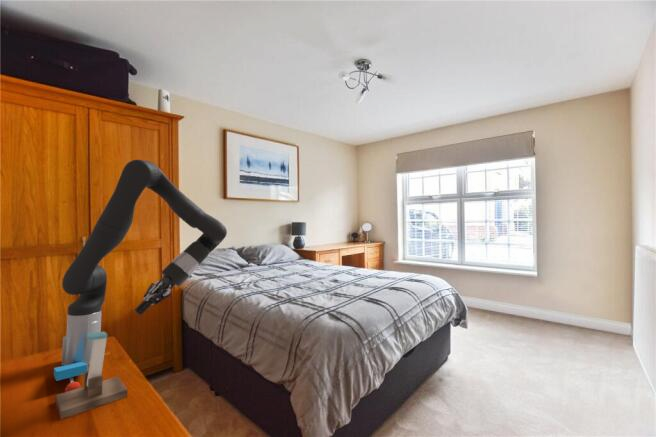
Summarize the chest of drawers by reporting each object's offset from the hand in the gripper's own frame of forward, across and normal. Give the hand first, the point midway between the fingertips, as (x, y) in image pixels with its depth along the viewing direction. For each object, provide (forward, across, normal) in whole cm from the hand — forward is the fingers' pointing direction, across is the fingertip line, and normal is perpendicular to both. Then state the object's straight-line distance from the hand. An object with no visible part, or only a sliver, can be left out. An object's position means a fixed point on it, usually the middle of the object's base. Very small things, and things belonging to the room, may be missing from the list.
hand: (137, 312), depth 90 cm
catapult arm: (+20, 0, +6) cm, 20 cm away
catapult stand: (+23, 0, +8) cm, 24 cm away
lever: (+25, -15, +7) cm, 30 cm away
